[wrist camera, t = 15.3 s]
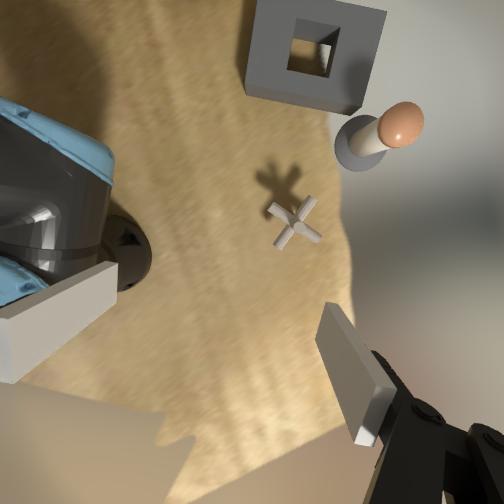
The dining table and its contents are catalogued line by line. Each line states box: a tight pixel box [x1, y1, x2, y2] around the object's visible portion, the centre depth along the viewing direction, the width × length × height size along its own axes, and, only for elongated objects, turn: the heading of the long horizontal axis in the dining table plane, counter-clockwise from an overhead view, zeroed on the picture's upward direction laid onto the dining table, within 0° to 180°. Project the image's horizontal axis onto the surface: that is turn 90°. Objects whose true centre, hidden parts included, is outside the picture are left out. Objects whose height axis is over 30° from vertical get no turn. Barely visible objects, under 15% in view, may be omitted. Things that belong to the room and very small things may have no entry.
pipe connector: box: [267, 195, 322, 250], centre depth 40 cm, size 10×10×10 cm
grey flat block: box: [245, 0, 387, 116], centre depth 37 cm, size 18×12×4 cm, turn 79°
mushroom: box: [349, 102, 424, 157], centre depth 35 cm, size 5×5×12 cm
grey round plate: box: [335, 115, 387, 172], centre depth 41 cm, size 9×9×1 cm
